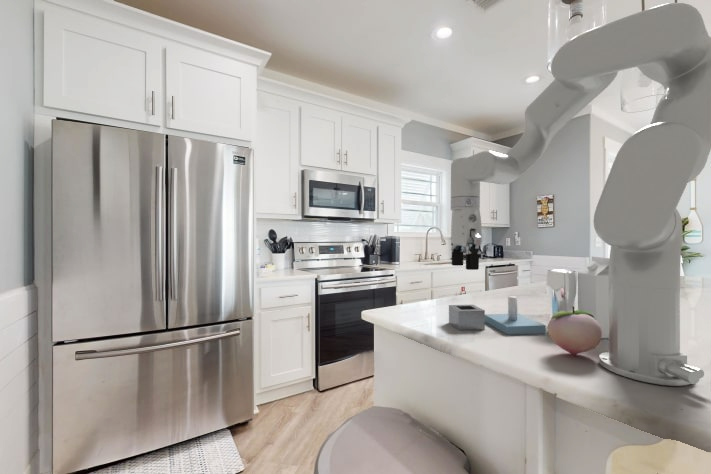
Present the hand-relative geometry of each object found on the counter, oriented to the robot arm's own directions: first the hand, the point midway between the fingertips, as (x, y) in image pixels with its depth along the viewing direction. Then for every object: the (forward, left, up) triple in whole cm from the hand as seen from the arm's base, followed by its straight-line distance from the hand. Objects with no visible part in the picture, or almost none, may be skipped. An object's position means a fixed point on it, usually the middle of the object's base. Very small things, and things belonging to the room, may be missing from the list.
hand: (464, 267), depth 86 cm
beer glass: (-3, -25, -16) cm, 30 cm away
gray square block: (0, 0, -16) cm, 16 cm away
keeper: (-2, -12, -16) cm, 20 cm away
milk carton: (-10, -30, -16) cm, 36 cm away
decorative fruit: (-23, -14, -16) cm, 31 cm away
